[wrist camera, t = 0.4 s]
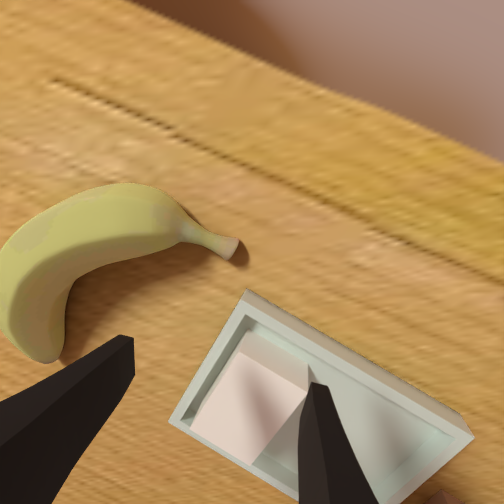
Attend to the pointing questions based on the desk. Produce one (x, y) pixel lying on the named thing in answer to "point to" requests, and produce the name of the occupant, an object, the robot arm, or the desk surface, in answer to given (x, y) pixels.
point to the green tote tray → (337, 407)
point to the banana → (84, 255)
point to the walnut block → (443, 499)
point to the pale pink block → (251, 397)
